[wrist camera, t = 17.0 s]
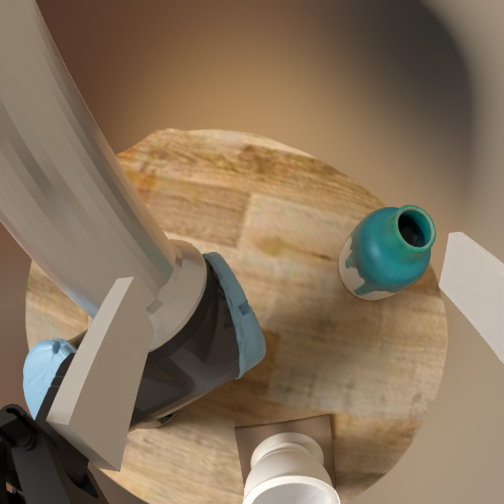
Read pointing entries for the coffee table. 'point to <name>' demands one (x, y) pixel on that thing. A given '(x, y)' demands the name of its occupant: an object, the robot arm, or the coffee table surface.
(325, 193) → the coffee table surface
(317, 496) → the jar
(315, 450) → the walnut board
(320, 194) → the coffee table surface
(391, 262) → the vase
